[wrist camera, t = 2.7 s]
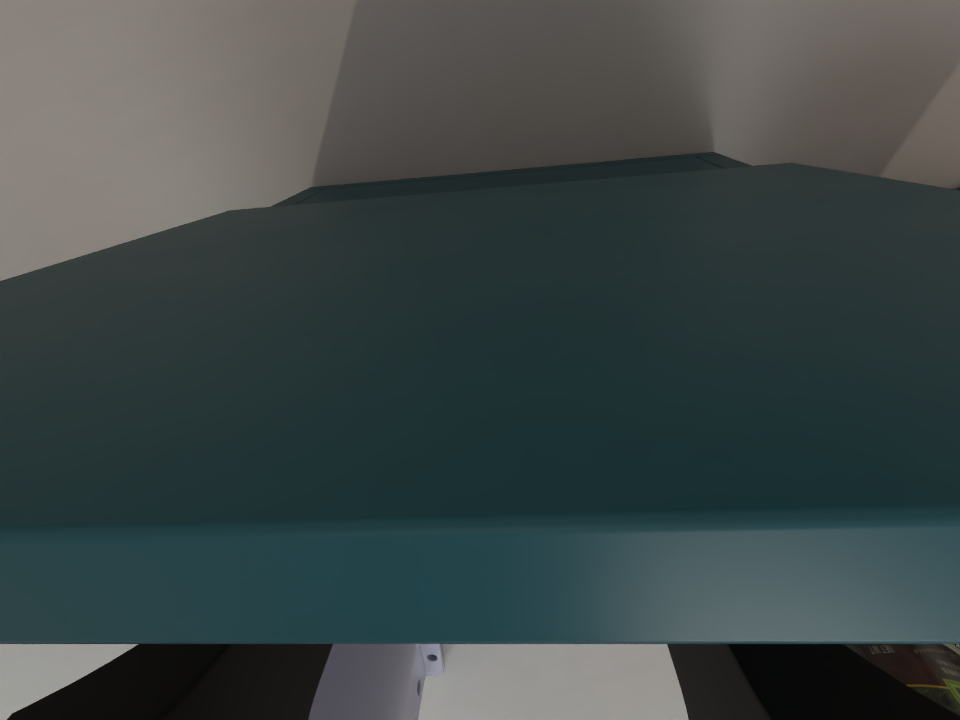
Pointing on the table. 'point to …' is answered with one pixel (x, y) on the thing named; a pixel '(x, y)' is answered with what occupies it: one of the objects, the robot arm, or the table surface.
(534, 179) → the cool box
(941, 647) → the coffee can
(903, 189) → the cool box lid
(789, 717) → the robot arm
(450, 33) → the table surface
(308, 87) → the table surface
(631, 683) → the table surface
